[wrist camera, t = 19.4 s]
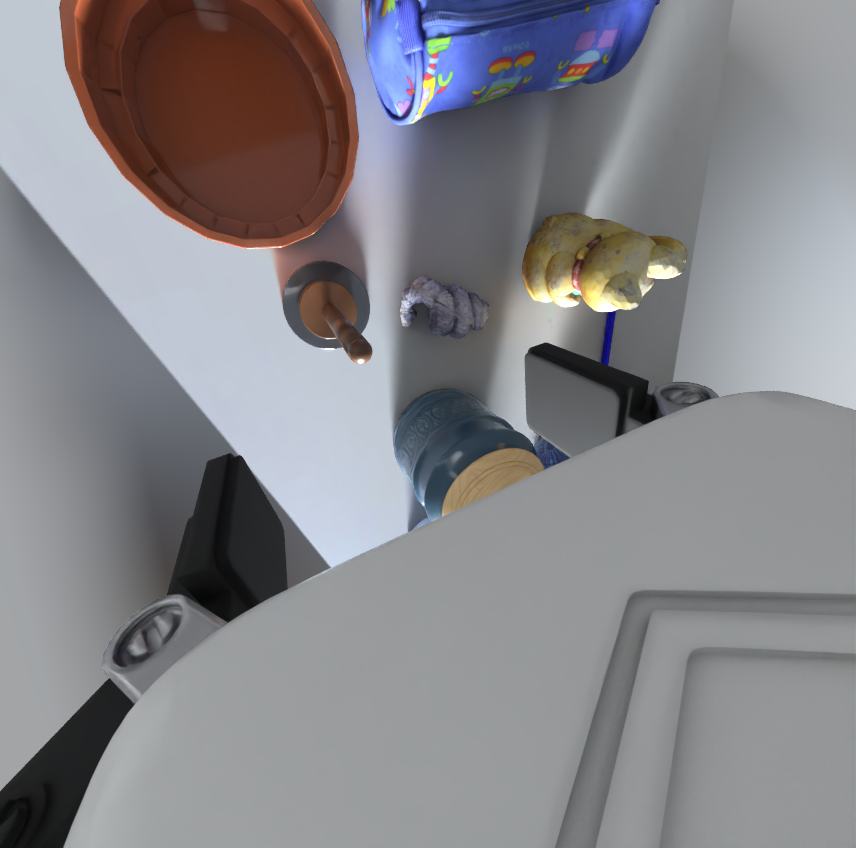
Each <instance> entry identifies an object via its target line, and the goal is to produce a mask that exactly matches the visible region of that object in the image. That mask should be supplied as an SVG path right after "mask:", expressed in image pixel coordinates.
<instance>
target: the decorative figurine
mask: <svg viewBox="0 0 856 848" xmlns="http://www.w3.org/2000/svg"><path fill="white" fill-rule="evenodd" d="M686 260H687V249H686V248H685V246H684V245H683V244H682V243H681V242H679V241H678V240H676V239H673V238H670V237H664V236H647V235H645V234H641V233H639V232H637V231H634V230H632V229H630V228H627V227H625V226H623V225H620V224H618V223H615V222H613V221H609V220H605V219H592V218H591V217H588V216H586V215H583V214H579V213H567V214H562V215H558V216H553V215H551V216H549V217H547V218H546V219H545V221H543V224H542V227H541V228H540V229H539V230H538V231H537V233H536V234H535V235H534V236H533V238H532V239H531V241H530V242H529V244H528V245H527V249H526V252H525V255H524V259H523V265H522V275H523V281H524V284H525V286H526V288H527V291H528V292H529V294H530V296H531V297H532V298H533V299H534V300H539V301H541V302H551V301H553V302H555V303H556V304H558V305H559V306H561V307H572V306H575V305H577V304H579V302H580V301H581V296H582V297H583V299H584V301H585V302H586V303H587V305H589V306H590V307H591V308H593V310H594V311H599V312H612V311H615V310H617V309H623V310H631V309H635V308H636V307H637V306H639V305H640V303H641V301H642V296H643V295H644V294H645V293H646V292H647V291H648V290H650V288H651V287H652V286H653V284H654V281H655V278H657V279H668V278H673V277H675V276H677V275H679V274H681V273H682V272H683V271H684V269H685V264H684V263H685V262H686Z"/></svg>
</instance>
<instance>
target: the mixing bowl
mask: <svg viewBox="0 0 856 848" xmlns="http://www.w3.org/2000/svg"><path fill="white" fill-rule="evenodd" d="M59 9H60V19H61V29H62V39H63V50H64V60H65V67H66V70H67V73H68V75H69V78H70V80H71V83H72V85H73V88H74V91H75V93H76V96H77V98H78V101H79V103H80V106H81V108H82V111H83V113H84V116H85V119H86V121H87V124H88V126H89V128H90V129H91V131H92V132H93V133H94V135H95V136H96V138H97V139H98V141H99V142H100V144H101V145H102V146H103V148H104V149H105V151H106V152H107V154H108V155H109V157H110V158H111V159H112V161H113V162H114V164H115V165H116V167H117V168H118V170H119V171H120V172H121V174H122V175H123V176H124V177H125V179H127V180H128V181H129V182H130V183H131V184H132V185H133V186H134V187H135V188H136V189H137V190H138V191H139V192H141V193H142V194H143V195H144V196H145V197H146V198H147V199H148V200H149V201H150V202H151V203H152V204H154V205H155V206H156V207H157V208H158V209H159V210H160V211H161V212H162V213H164V214H165V215H166V216H168V217H170V218H171V219H173V220H175V221H177V222H179V223H180V224H182V225H184V226H186V227H187V228H189V229H191V230H193V231H194V232H196V233H198V234H200V235H201V236H203V237H205V238H207V239H211V240H215V241H218V242H222V243H226V244H230V245H234V246H237V247H241V248H245V249H256V248H277V247H285V246H287V245H289V244H292V243H294V242H296V241H299V240H301V239H304V238H306V237H308V236H311V235H313V234H314V233H315V232H316V231H317V230H318V229H319V228H321V227H322V226H323V225H324V224H325V223H326V222H327V221H328V220H329V219H330V218H331V217H332V216H333V215H334V214H335V213H336V212H337V210H338V209H339V206H340V204H341V202H342V200H343V198H344V196H345V194H346V192H347V190H348V188H349V186H350V184H351V182H352V179H353V175H354V168H355V161H356V155H357V148H358V142H359V134H358V124H357V115H356V105H355V95H354V90H353V87H352V85H351V82H350V79H349V76H348V73H347V70H346V67H345V64H344V61H343V58H342V55H341V52H340V49H339V46H338V43H337V41H336V39H335V38H334V36H333V34H332V32H331V31H330V29H329V27H328V26H327V24H326V22H325V21H324V19H323V17H322V16H321V14H320V12H319V11H318V9H317V7H316V6H315V4H314V2H313V1H312V0H61V2H60V6H59Z"/></svg>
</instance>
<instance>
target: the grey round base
mask: <svg viewBox="0 0 856 848" xmlns="http://www.w3.org/2000/svg"><path fill="white" fill-rule="evenodd" d="M320 279H328V280H332V281H335V282H337V283H339V284H340V285H342V286H343V287H345V288H346V289H347V290H348V291H349V292H350V293H351V295H352V296H353V298H354V300H355V303H356V307H357V317H356V321H355V323H354V325H353V326H354V327H355V328H356V329H357V331H358V332H359V333H360V334H362V332H363V331H364V329H365V327H366V325H367V322H368V319H369V314H370V303H369V298H368V294H367V291H366V289H365V287H364V285H363V284H362V282H361V281H360V279H359V278H358V277H357V276H356V275H355V274H354V273H353V272H352V271H350V270H349V269H348V268H346V267H344V266H342V265H340V264H337V263H334V262H329V261H316V262H312V263H308V264H306V265H304V266H302V267H300V268H299V269H298V270H296V271H295V272H294V273H293V274H292V276H291V277H290V278H289V280H288V282H287V284H286V286H285V289H284V293H283V310H284V314H285V317H286V320H287V322H288V324H289V326H290V327H291V329H292V330H293V332H294V333H295V334H296V335H297V336H298V337H299V338H300V339H302V340H303V341H304V342H306V343H308V344H310V345H312V346H314V347H318V348H322V349H337V348H341V347H343V346H342V345H341V343H340V342H339V340H338V339H337V338H335V339H326V338H322V337H319V336H317V335H315V334H313V333H312V332H311V331H310V330H309V329H308V328H307V327H306V326H305V324H304V323H303V321H302V318H301V315H300V312H299V305H298V303H299V297H300V295H301V292H302V291H303V289H304V288H305V287H306V286H307V285H308V284H310V283H311V282H313V281H316V280H320Z"/></svg>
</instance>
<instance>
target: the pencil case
mask: <svg viewBox="0 0 856 848" xmlns="http://www.w3.org/2000/svg"><path fill="white" fill-rule="evenodd" d="M659 2H660V0H362V5H361V7H362V26H363V33H364V39H365V48H366V54H367V59H368V62H369V65H370V68H371V72H372V75H373V79H374V81H375V85H376V89H377V93H378V96H379V99H380V102H381V104H382V107H383V109H384V111H385V113H386V115H387V116H388V118H389V119H390V120H391V121H392V122H393V123H395V124H397V125H408V124H412V123H414V122H416V121H418V120H419V119H421V118H422V117H424V116H427V115H430V114H433V113H436V112H440V111H447V110H455V109H460V108H466V107H471V106H476V105H478V104H481V103H483V102H486V101H491V100H494V99H498V98H501V97H505V96H509V95H512V94H514V93H528V92H533V91H547V90H555V89H560V88H565V87H569V86H573V85H577V84H579V83H581V82H583V83H586V84H592V83H598V82H600V81H604V80H606V79H608V78H610V77H612V76H614V75H616V74H617V73H618V72H620V71H621V70H622V69H623V68H624V67H625V66H626V65H627V63H628V62H629V61H630V60H631V58H632V57H633V55H634V54H635V52H636V51H637V49H638V47H639V46H640V44H641V42H642V40H643V38H644V36H645V33H646V31H647V28H648V25H649V22H650V19H651V16H652V13H653V10H654V8H655V5H658V4H659Z"/></svg>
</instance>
